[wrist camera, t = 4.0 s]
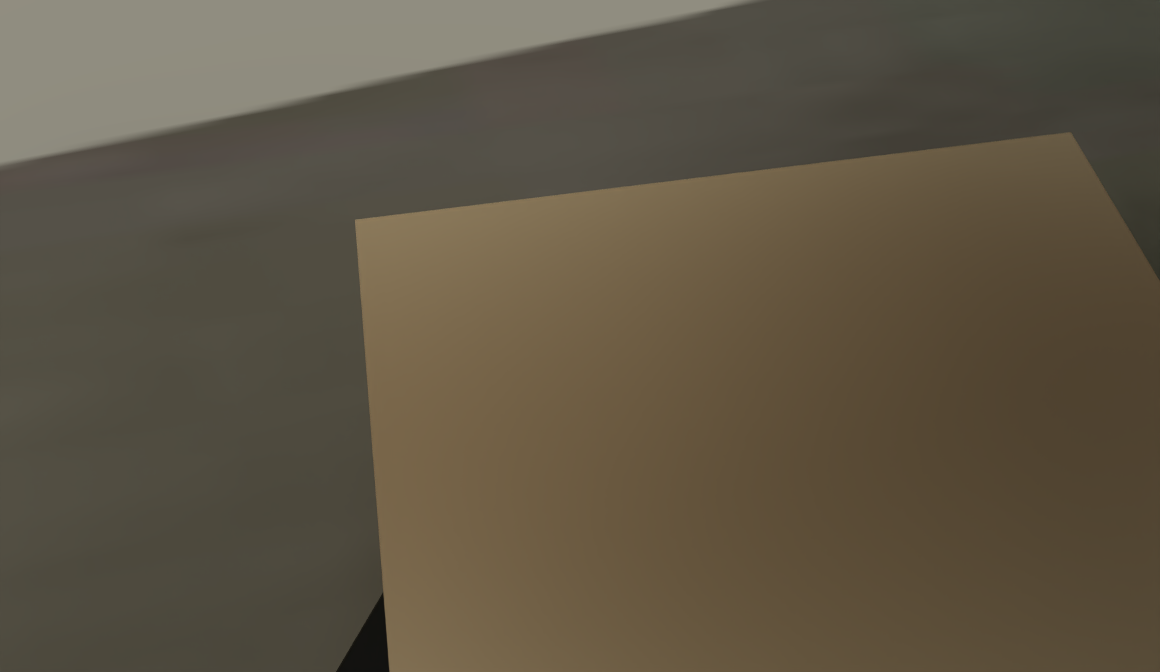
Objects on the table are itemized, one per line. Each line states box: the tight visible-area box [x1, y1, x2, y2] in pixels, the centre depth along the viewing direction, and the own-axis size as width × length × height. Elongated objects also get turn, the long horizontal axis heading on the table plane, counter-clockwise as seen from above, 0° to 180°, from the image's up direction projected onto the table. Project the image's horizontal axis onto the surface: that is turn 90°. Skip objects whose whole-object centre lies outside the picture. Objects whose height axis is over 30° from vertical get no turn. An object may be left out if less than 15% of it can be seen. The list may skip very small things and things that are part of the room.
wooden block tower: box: [355, 132, 1160, 672], centre depth 9 cm, size 7×7×12 cm
